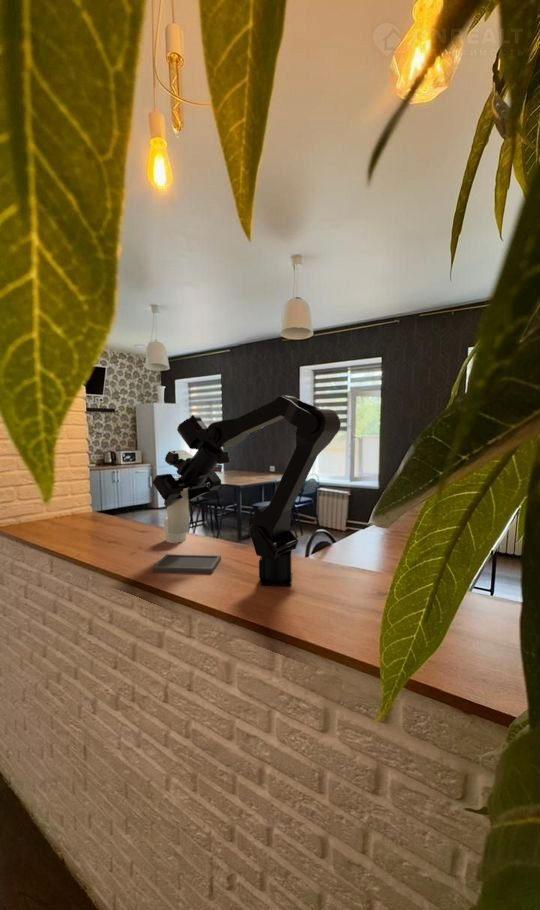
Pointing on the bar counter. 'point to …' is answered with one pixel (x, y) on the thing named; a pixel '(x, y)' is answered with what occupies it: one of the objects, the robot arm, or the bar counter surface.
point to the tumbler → (179, 515)
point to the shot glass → (173, 537)
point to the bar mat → (187, 563)
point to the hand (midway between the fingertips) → (174, 503)
